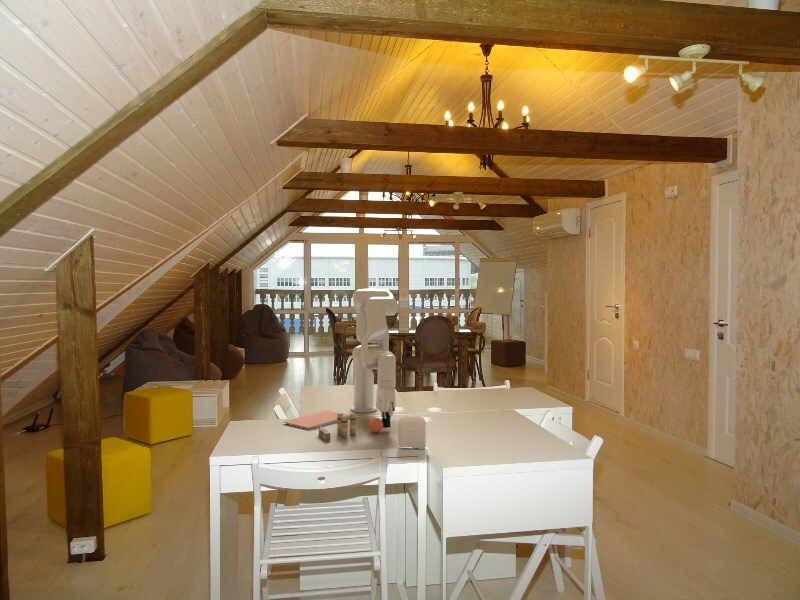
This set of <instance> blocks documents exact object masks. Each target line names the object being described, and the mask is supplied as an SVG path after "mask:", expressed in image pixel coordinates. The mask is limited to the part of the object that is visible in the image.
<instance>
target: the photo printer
mask: <svg viewBox="0 0 800 600" xmlns="http://www.w3.org/2000/svg"><path fill="white" fill-rule="evenodd" d="M426 425H427V424H426V420H425V417H424V416H421V415H418V414H416V415H415V414H407V415H403V416H400V417H399V420H398V426H397V427H398V428H397V431H398V432H397V433H398V435H397V436H398V440H397V443H398V444H397V445H398V446H400V447H412V448H418V449H417V450H424V449H426V448H425V447H426V446H427V445H426V440H427V439H426V437H427V435H426V434H427V433H426V432H427V431H426V430H427V429H426V427H427V426H426Z"/></svg>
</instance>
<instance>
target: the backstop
mask: <svg viewBox="0 0 800 600" xmlns="http://www.w3.org/2000/svg"><path fill="white" fill-rule="evenodd" d="M318 436H319V437H320V436H321V437H322V438H323V439H324V440H330V441H331V432H330V431H328V430H327V428H325V427H320V428H318ZM321 437H320V438H321ZM322 438H321V439H322ZM323 439H322V440H323ZM324 440H323V441H324Z"/></svg>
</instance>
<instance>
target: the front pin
mask: <svg viewBox="0 0 800 600" xmlns="http://www.w3.org/2000/svg"><path fill="white" fill-rule="evenodd" d="M349 415H350V419H349V436H351V435H354V436H356V435H355V434H357V433H356V432H357V430H356V428H357V414H356V412H353V413H349Z"/></svg>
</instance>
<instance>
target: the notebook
mask: <svg viewBox="0 0 800 600" xmlns="http://www.w3.org/2000/svg"><path fill="white" fill-rule="evenodd" d="M338 413H339V412H337V411H332V410H327V409H326V410H323V411H318V412H314V413H311V414H307V415H304V416H298V417H296V418H293V419H287V420H285V421H283V424H284V423H286V424H291V425H294V426H297V427H296V428H299V427H302V428H301V429H303V428H306V429H305V430H307V429H311V430H313V429H312V428H315V429H317V428H318V429H319V427H320V426H322V427H324V426H325V427H326V425H327V424H328V425H334V424H333V423H335V424H337V414H338ZM343 416H348V420H350V414H347V413H343ZM330 423H331V424H330ZM286 424H285V425H286ZM294 426H293V427H294ZM316 427H317V428H316ZM320 428H321V427H320Z"/></svg>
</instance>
